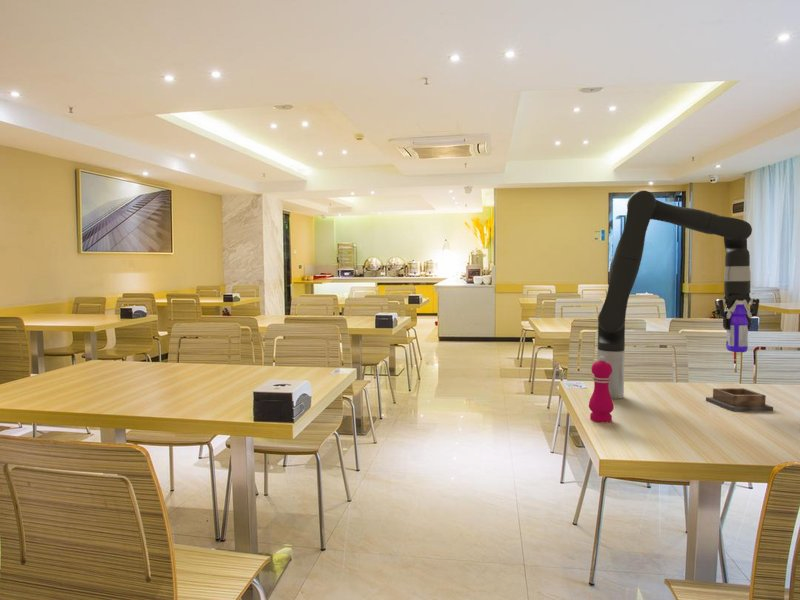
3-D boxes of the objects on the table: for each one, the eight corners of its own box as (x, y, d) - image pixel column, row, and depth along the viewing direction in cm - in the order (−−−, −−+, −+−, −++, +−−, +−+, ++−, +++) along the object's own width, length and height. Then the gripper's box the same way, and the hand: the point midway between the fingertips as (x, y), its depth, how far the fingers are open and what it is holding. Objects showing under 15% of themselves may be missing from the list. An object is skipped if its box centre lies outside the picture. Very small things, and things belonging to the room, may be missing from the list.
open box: (731, 410, 174) (731, 396, 173) (705, 400, 188) (706, 387, 187) (773, 410, 174) (773, 396, 174) (744, 400, 188) (744, 387, 188)
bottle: (750, 353, 175) (751, 300, 174) (731, 352, 176) (732, 301, 176) (741, 349, 182) (741, 299, 181) (723, 349, 183) (723, 299, 183)
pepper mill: (601, 415, 168) (602, 353, 167) (618, 421, 162) (619, 357, 161) (583, 418, 166) (584, 355, 165) (599, 424, 159) (601, 358, 158)
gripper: (723, 280, 174) (722, 331, 175) (766, 279, 175) (765, 330, 175) (709, 280, 182) (709, 328, 183) (750, 279, 182) (750, 327, 183)
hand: (736, 329), depth 179 cm, fingers closed on bottle, 6 cm apart
